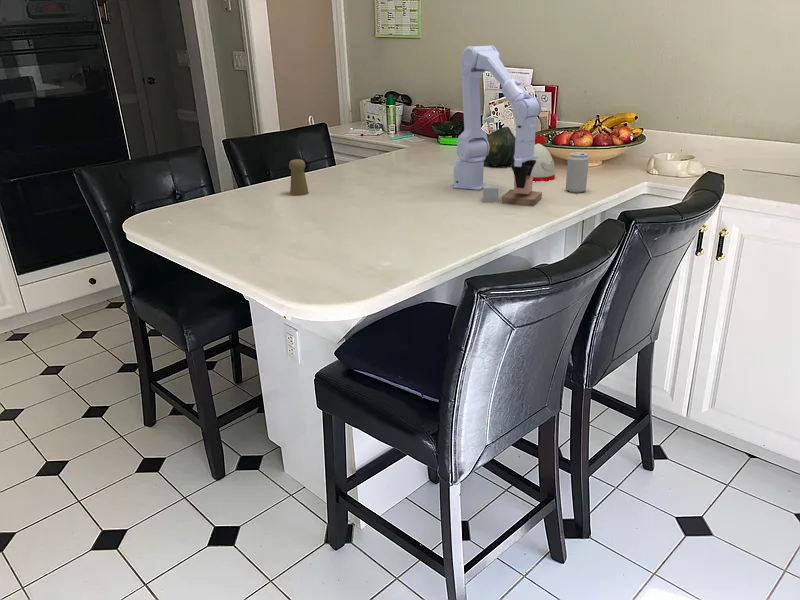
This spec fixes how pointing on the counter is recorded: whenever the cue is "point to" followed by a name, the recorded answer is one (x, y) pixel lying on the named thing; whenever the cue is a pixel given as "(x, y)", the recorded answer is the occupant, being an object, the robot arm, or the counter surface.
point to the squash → (501, 147)
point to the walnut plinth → (521, 198)
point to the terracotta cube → (527, 187)
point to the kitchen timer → (542, 161)
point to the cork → (298, 178)
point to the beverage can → (577, 172)
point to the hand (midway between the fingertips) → (522, 185)
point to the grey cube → (490, 193)
